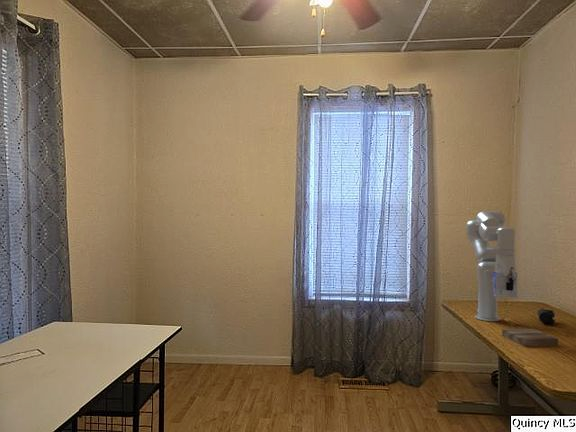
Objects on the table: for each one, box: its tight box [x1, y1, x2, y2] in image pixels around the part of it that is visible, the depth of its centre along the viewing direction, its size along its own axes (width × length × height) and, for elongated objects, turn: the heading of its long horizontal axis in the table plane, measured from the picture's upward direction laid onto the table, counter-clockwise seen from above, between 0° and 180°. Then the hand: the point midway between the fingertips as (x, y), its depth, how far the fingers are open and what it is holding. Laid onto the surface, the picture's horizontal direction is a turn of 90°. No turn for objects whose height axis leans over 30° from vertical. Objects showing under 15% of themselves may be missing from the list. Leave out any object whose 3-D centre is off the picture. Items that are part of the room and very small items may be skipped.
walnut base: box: [502, 328, 559, 347], centre depth 194 cm, size 16×16×3 cm
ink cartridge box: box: [493, 271, 518, 299], centre depth 207 cm, size 10×6×14 cm, turn 79°
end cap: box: [537, 307, 556, 326], centre depth 225 cm, size 10×7×7 cm
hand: (505, 288), depth 207 cm, fingers closed on ink cartridge box, 6 cm apart
